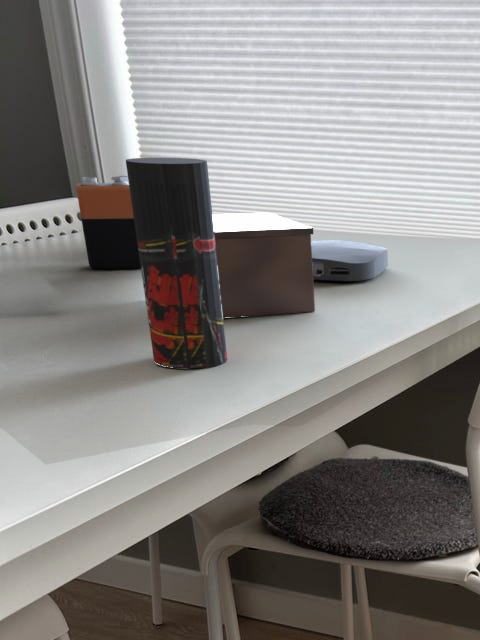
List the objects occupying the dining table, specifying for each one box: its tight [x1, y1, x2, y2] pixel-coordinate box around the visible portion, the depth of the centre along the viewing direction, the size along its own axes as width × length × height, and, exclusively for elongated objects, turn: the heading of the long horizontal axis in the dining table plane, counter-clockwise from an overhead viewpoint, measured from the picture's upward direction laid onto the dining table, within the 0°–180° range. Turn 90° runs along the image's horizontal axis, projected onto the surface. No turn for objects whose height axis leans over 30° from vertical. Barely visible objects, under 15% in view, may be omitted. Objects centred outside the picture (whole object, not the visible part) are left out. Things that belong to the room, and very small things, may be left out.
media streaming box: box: [311, 239, 389, 282], centre depth 117 cm, size 15×15×3 cm
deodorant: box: [125, 157, 228, 369], centre depth 76 cm, size 6×6×15 cm
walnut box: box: [212, 212, 316, 318], centre depth 97 cm, size 12×12×8 cm
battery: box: [75, 175, 141, 271], centre depth 114 cm, size 4×7×10 cm, turn 111°
